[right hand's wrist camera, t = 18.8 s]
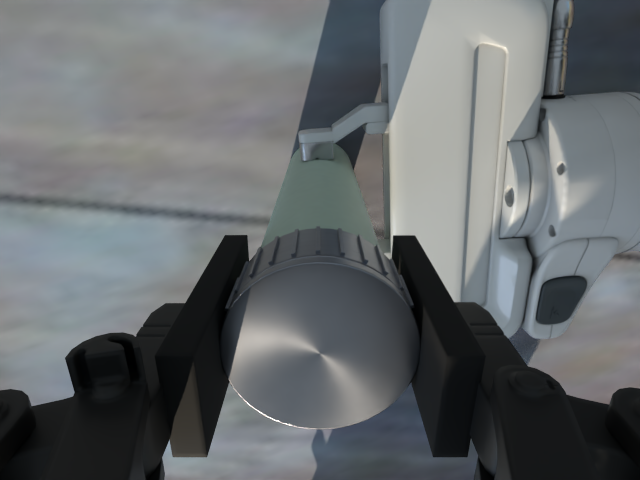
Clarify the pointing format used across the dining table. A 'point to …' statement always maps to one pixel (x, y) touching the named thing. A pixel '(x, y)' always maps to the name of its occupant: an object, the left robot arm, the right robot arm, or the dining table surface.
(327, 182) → the jar
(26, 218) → the dining table surface
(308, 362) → the lid
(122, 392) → the right robot arm
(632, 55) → the dining table surface
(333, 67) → the dining table surface
